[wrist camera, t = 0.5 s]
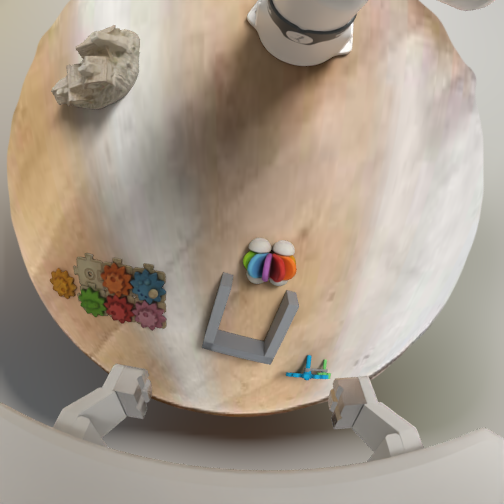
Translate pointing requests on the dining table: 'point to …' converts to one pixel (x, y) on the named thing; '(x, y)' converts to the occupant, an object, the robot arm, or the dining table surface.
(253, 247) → the multicoloured rounded-lobe toy
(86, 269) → the gear puzzle
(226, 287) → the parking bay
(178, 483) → the robot arm
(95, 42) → the ceramic cottage
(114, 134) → the dining table surface
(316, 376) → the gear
